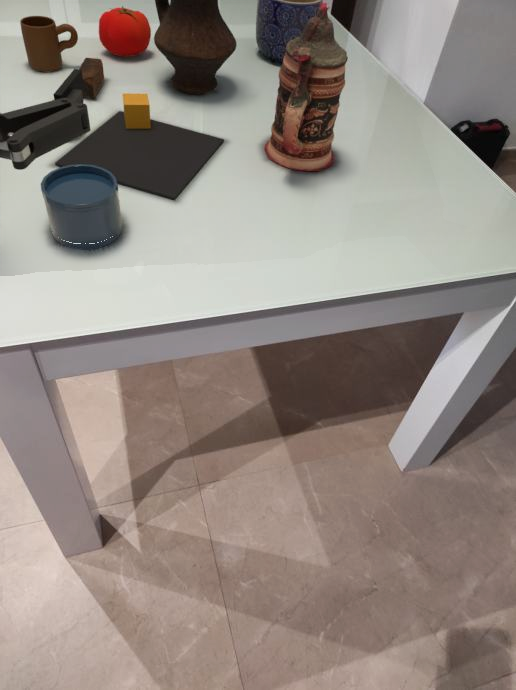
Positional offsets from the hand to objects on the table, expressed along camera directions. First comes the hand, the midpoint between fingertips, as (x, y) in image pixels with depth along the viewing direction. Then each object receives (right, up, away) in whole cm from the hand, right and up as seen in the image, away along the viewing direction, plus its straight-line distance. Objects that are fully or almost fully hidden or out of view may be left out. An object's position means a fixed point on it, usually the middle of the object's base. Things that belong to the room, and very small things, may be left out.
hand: (18, 73), depth 56 cm
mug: (-22, +37, +66) cm, 79 cm away
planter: (+33, +50, +85) cm, 104 cm away
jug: (+10, +33, +68) cm, 76 cm away
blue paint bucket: (-2, -11, +28) cm, 30 cm away
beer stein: (+34, +9, +50) cm, 61 cm away
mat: (+4, +8, +45) cm, 46 cm away
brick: (-12, +28, +60) cm, 68 cm away
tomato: (-7, +45, +75) cm, 88 cm away
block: (+1, +17, +51) cm, 54 cm away
